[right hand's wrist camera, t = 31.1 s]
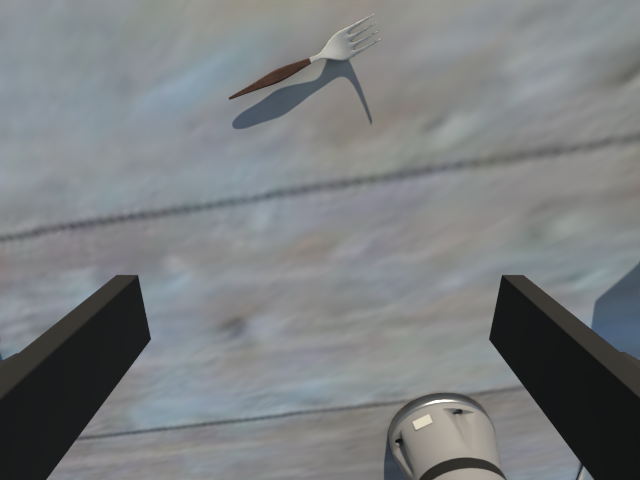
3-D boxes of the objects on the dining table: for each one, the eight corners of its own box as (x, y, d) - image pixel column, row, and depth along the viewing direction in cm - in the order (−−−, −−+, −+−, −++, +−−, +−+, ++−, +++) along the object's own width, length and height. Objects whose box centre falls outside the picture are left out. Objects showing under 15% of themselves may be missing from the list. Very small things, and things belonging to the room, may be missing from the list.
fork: (224, 86, 36) (218, 84, 34) (370, 17, 33) (372, 11, 32) (235, 111, 36) (231, 111, 35) (378, 45, 34) (382, 41, 32)
